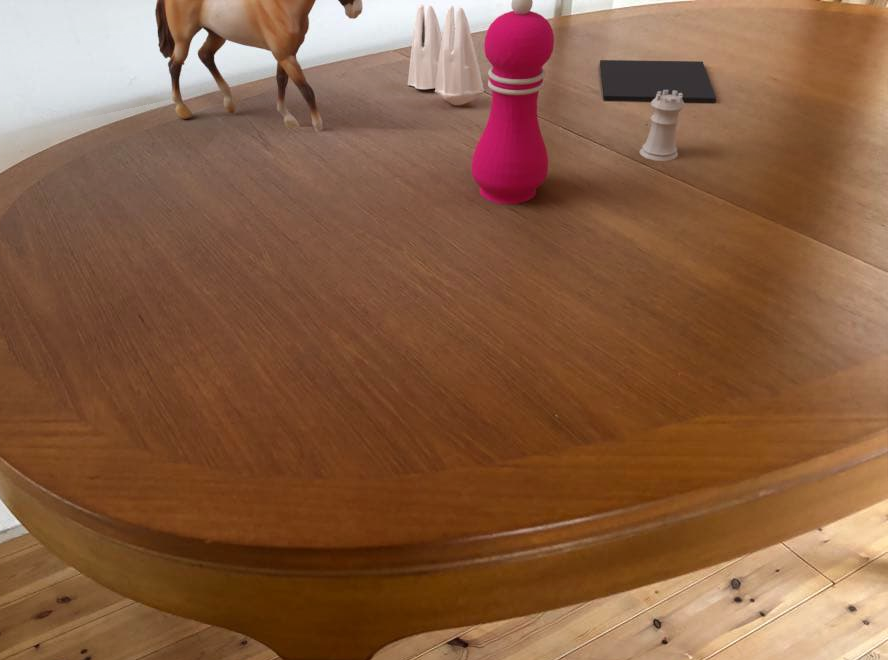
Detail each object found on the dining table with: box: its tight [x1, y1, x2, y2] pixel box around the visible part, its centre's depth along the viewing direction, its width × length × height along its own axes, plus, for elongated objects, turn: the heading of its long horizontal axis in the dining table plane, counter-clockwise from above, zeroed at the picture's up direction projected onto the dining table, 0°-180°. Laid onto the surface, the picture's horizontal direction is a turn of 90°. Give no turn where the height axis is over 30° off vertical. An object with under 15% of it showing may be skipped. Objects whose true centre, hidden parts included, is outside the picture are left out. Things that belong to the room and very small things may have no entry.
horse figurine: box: [154, 0, 363, 132], centre depth 101 cm, size 31×8×21 cm, turn 56°
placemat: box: [599, 59, 717, 104], centre depth 112 cm, size 13×13×1 cm
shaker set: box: [407, 4, 485, 106], centre depth 108 cm, size 12×4×11 cm, turn 28°
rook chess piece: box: [639, 90, 686, 162], centre depth 90 cm, size 4×4×8 cm
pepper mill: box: [470, 0, 555, 205], centre depth 81 cm, size 7×7×20 cm
